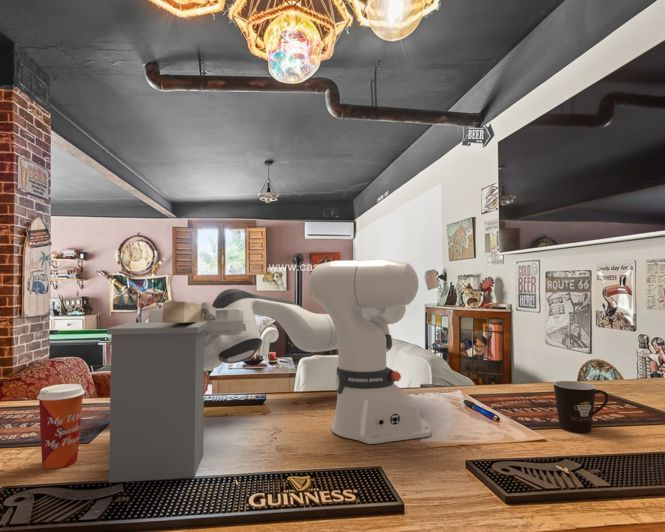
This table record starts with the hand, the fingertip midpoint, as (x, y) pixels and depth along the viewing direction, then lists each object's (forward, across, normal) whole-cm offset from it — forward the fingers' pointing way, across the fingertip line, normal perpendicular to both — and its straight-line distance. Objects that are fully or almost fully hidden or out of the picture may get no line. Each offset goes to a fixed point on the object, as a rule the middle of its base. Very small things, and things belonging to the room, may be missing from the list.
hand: (192, 305), depth 92 cm
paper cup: (-10, +23, -28) cm, 37 cm away
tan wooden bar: (+4, 0, -6) cm, 7 cm away
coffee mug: (-13, -87, -26) cm, 92 cm away
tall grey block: (-6, +4, -30) cm, 31 cm away
